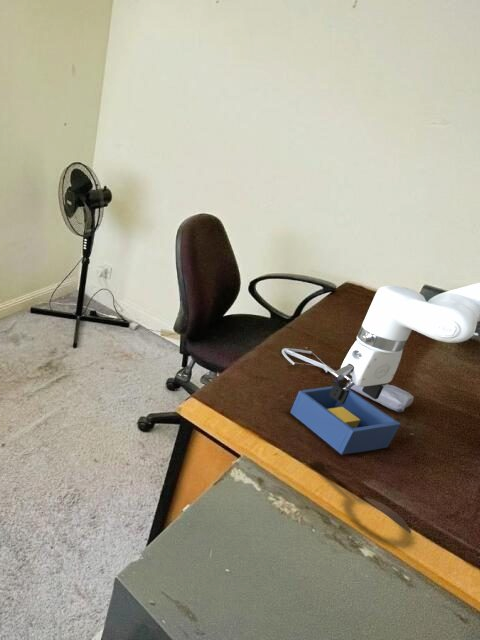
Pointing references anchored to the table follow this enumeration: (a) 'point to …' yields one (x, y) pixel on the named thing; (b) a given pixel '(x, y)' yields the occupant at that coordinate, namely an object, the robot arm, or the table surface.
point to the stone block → (390, 397)
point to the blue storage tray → (367, 436)
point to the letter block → (345, 416)
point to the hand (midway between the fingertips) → (352, 397)
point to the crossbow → (304, 358)
